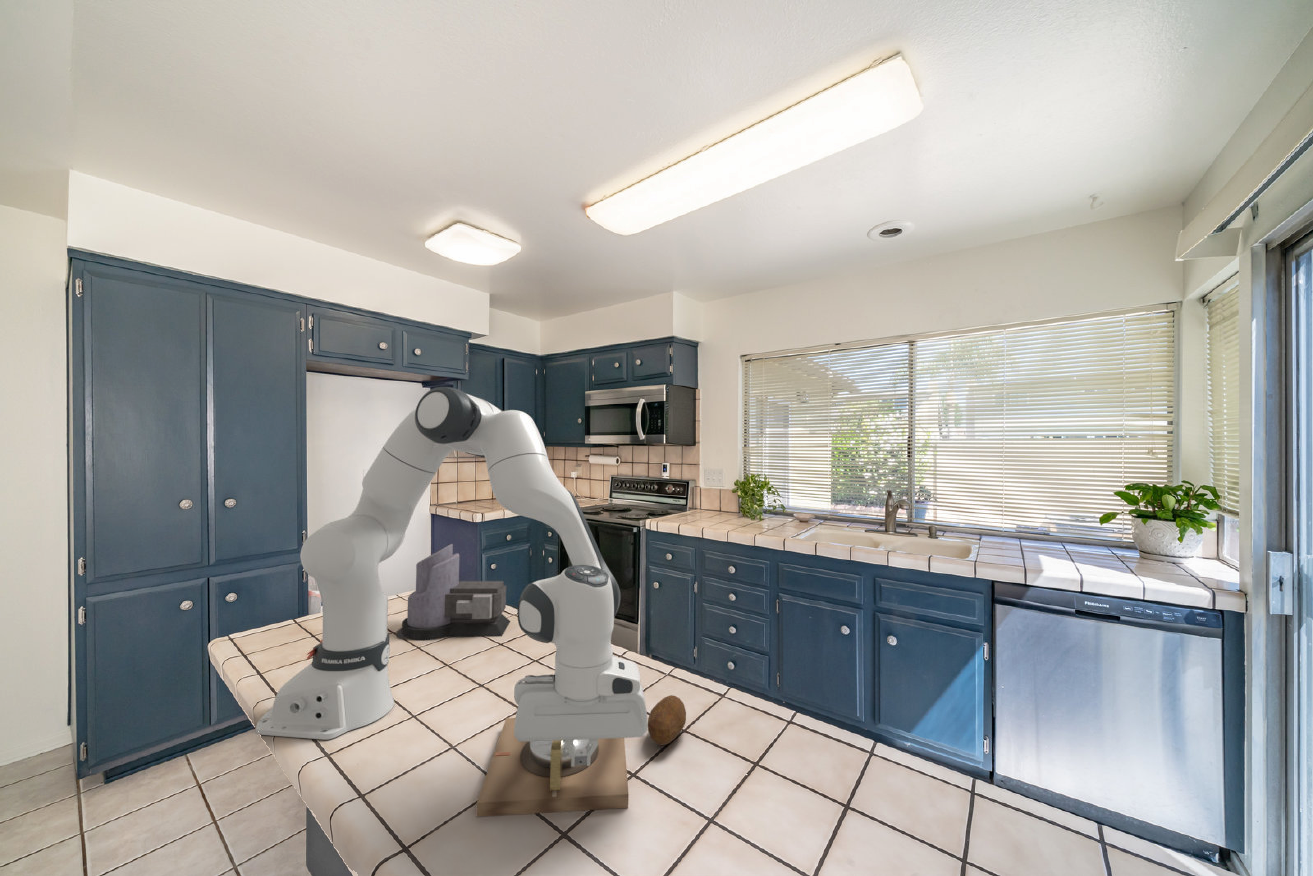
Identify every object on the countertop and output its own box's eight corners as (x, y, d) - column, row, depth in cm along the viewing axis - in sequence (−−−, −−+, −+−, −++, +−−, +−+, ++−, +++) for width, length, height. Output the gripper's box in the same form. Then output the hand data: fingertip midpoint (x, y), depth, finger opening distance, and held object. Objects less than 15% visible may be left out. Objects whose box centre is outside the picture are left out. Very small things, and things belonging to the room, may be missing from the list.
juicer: (386, 641, 132) (388, 550, 132) (410, 620, 148) (412, 538, 148) (500, 639, 134) (502, 550, 135) (512, 619, 150) (514, 539, 151)
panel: (476, 816, 71) (476, 801, 71) (505, 728, 93) (506, 717, 93) (628, 807, 73) (628, 793, 73) (622, 724, 95) (622, 712, 95)
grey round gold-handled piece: (534, 732, 87) (535, 698, 87) (590, 730, 89) (591, 697, 89) (520, 792, 72) (521, 751, 73) (588, 788, 74) (589, 748, 74)
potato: (639, 753, 86) (640, 713, 86) (656, 718, 97) (657, 683, 98) (677, 760, 85) (678, 720, 85) (690, 724, 96) (690, 688, 96)
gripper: (511, 686, 71) (507, 781, 71) (650, 682, 74) (647, 775, 74) (518, 666, 78) (515, 754, 78) (646, 663, 80) (643, 748, 80)
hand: (580, 764), depth 76 cm, fingers closed
